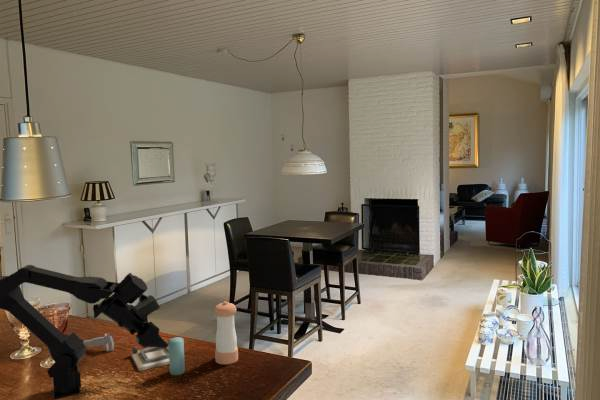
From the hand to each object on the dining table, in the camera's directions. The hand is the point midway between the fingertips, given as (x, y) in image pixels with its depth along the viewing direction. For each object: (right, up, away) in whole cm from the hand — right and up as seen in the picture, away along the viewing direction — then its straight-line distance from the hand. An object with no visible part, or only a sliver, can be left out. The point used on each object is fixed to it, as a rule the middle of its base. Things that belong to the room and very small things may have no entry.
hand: (162, 341), depth 139 cm
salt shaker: (+17, -10, +12) cm, 23 cm away
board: (-6, -9, +13) cm, 17 cm away
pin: (+3, -10, +4) cm, 12 cm away
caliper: (-32, -9, +21) cm, 40 cm away
